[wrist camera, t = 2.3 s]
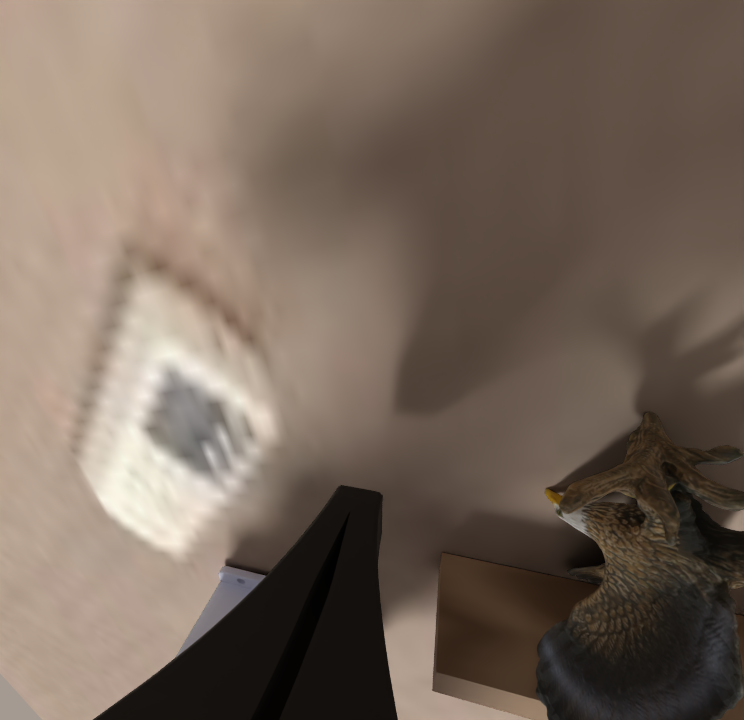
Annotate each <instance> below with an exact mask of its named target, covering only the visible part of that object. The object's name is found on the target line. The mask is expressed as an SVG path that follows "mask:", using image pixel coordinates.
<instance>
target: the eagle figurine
mask: <svg viewBox="0 0 744 720" xmlns="http://www.w3.org/2000/svg"><path fill="white" fill-rule="evenodd" d="M627 451H628V452H627V456H626V457H625V460H624V462H623V464H619V465H617V466H616V467H614V468H612V469H610V470H607V471H605V472H602V473H599V474H596V475H593V476H590V477H587V478H584V479H581V480H579V481H576V482H574V483H572V484H570V485H569V487H568V488H567V490H566V492H565V494H564V495H563V496H561V495H559V494H557V493H554V492H552V491H551V490H550V489H548V488H547V489H545V494H546V496H547V497H548V499H549V500H550V501H551V502H552V504H553V505H554V507H555V511H556V514H557V515H558V517H559V518H561V519H562V520H564V521H566V522H567V523H569V524H570V525H572V526H573V527H574V528H576V529H577V530H579V531H581V532H583V533H584V534H586V535H587V536H589V537H590V538H592V539H593V540H594V541H595V542H597V544H598V545H599V547H600V548H601V550H602V552H603V554H604V557H605V563H603V564H602V565H600V566H592V567H584V568H574V569H569V570H568V571H567V572H568V573H569V574H570V575H576V577H577V578H578V579H587V580H588V581H589V582H590V583H592V584H597V583H601V584H600V586H599V588H598V589H597V590H596V591H595V592H593V593H592V594H590V595H589V596H587V597H586V598H584V599H582V600H581V601H579V602H577V603H576V604H575V605H574V607H573V609H572V610H571V613H570V615H569V617H568V618H567V619H566V620H564V621H561V622H559V623H556V624H555V625H554V626H553V627H551V628H550V629H549V630H548V631H547V632H546V633H545V634H544V635H543V637H542V638H541V640H540V641H539V643H538V645H537V652H538V656H539V662H538V665H537V667H536V677H537V688H536V694H537V696H538V698H539V699H540V701H541V702H542V704H543V705H544V706H546V709H547V717H548V720H718V719H721V718H722V717H723V715H724V714H725V713H726V711H727V710H731V709H733V708H734V707H735V706H736V704H737V702H738V701H739V700H740V699H742V697H743V695H744V676H743V672H742V660H741V654H740V638H739V636H738V634H737V627H738V623H737V618H736V615H735V612H736V603H735V601H734V600H733V599H732V598H731V596H730V589H737V588H740V587H744V531H735V530H730V529H727V528H724V527H721V526H720V525H719V524H717V523H716V522H715V521H713V520H712V519H711V517H710V516H709V515H708V514H707V513H705V512H704V511H703V510H702V505H701V503H700V502H699V501H697V500H696V499H694V498H693V497H692V494H695V495H696V496H698V497H700V498H701V499H703V500H704V501H705V502H707V503H709V504H711V505H713V506H716V507H718V508H721V509H724V510H730V511H740V510H743V509H744V492H742V491H738V490H734V489H730V488H728V487H725V486H723V485H721V484H718V483H716V482H714V481H712V480H710V479H708V478H706V477H704V476H703V475H702V474H701V473H700V471H699V470H698V469H696V467H695V465H697V464H715V465H722V464H726V463H730V462H732V461H735V460H737V459H740V458H741V457H742V456H743V455H744V453H743V451H741V450H740V449H738V448H736V447H732V446H727V445H724V446H719V447H716V448H714V449H711V450H708V451H702V450H699V449H694V448H683V447H679V446H675V445H674V444H673V442H672V441H671V440H670V439H669V438H668V436H667V435H666V434H665V432H664V430H663V428H662V424H661V421H660V419H659V418H658V416H657V415H655V414H654V413H651V412H648V413H646V414H645V415H644V418H643V421H642V423H641V425H640V426H639V427H638V429H637V431H634V432H633V433H632V434H631V435H630V438H629V441H628V442H627ZM614 491H616V492H622V493H623V494H625V495H627V496H630V497H632V498H636V500H637V505H633V504H625V503H611V502H602V503H598V502H595V501H597V500H599V499H601V498H602V497H604V496H605V495H606V494H608V493H611V492H614ZM691 493H692V494H691Z"/></svg>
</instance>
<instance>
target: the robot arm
mask: <svg viewBox="0 0 744 720" xmlns="http://www.w3.org/2000/svg"><path fill="white" fill-rule="evenodd" d="M382 499H383V495H382V494H381V493H380V492H376V491H371V490H365V489H360V488H354V487H349V486H344V485H341V486H339V487H338V488H337V489H336V491H335V492H334V494H333V495H332V497H331V498H330V500H329V501H328V503H327V504H326V505H325V507H324V508H323V509H322V511H321V512H320V513H319V515H318V516H317V517H316V519H315V520H314V521H313V523H312V524H311V525H310V526H309V528H308V529H307V530H306V531H305V532H304V534H303V535H302V536H301V537H300V539H299V540H298V541H297V542H296V543H295V545H294V546H293V547H292V548H291V549H290V550H289V551H288V553H287V554H286V555H285V556H284V557H283V558H282V559H281V560H280V561H279V563H278V564H277V565H276V566H275V567H274V568H273V569H272V570H271V571H270V572H269V574H268V575H267V576H265V575H261V574H257V573H253V572H249V571H245V570H241V569H237V568H233V567H229V566H224V567H222V568H221V570H220V572H219V578H220V580H221V582H220V583H219V585H218V587H217V588H216V590H215V592H214V593H213V595H212V597H211V598H210V600H209V602H208V603H207V605H206V607H205V608H204V610H203V612H202V614H201V615H200V617H199V619H198V620H197V622H196V624H195V625H194V627H193V629H192V630H191V632H190V634H189V635H188V637H187V639H186V640H185V642H184V644H183V646H182V647H181V649H180V651H179V652H178V654H177V656H176V657H175V659H173V660H172V661H171V662H170V663H168V664H167V665H166V666H165V667H164V668H162V669H161V670H160V671H159V672H157V673H156V674H155V675H153V676H152V677H151V678H149V679H148V680H147V681H145V682H144V683H143V684H141V685H140V686H139V687H137V688H136V689H135V690H133V691H132V692H130V693H129V694H128V695H126V696H125V697H124V698H122V699H121V700H119V701H118V702H117V703H115V704H114V705H113V706H111V707H110V708H108V709H107V710H106V711H104V712H103V713H102V714H100V715H99V716H97V717H96V718H95V719H93V720H398V718H397V713H396V707H395V701H394V696H393V690H392V684H391V678H390V672H389V666H388V659H387V652H386V645H385V638H384V630H383V622H382V613H381V603H380V591H379V579H378V556H379V547H380V541H381V534H382Z"/></svg>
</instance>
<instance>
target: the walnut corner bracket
mask: <svg viewBox="0 0 744 720" xmlns="http://www.w3.org/2000/svg"><path fill="white" fill-rule="evenodd" d="M598 588H599V585H594V584H589V583H584V582H580V581H575V580H570V579H565V578H561V577H556V576H551V575H546V574H542V573H537V572H532V571H527V570H523V569H518V568H513V567H508V566H504V565H499V564H494V563H489V562H485V561H480V560H475V559H470V558H465V557H461V556H456V555H451V554H446V553H442V555H441V561H440V568H439V578H438V597H437V615H436V634H435V652H434V671H433V689H432V691H435V692H438V693H442V694H445V695H449V696H452V697H456V698H459V699H462V700H466V701H469V702H473V703H476V704H480V705H483V706H487V707H490V708H494V709H497V710H501V711H504V712H508V713H511V714H515V715H518V716H522V717H525V718H529V719H532V720H548V717H547V709H546V706H544V705H543V704H542V702H541V701H540V699H539V698H538V696H537V694H536V688H537V677H536V667H537V665H538V662H539V656H538V652H537V645H538V643H539V641H540V640H541V638H542V637H543V635H544V634H545V633H546V632H547V631H548V630H549V629H550V628H551V627H553V626H554V625H555V624H556V623H559V622H561V621H564V620H566V619H567V618H568V617H569V615H570V613H571V610H572V609H573V607H574V605H575V604H576V603H577V602H579V601H581V600H582V599H584V598H586V597H587V596H589V595H590V594H592V593H593V592H595V591H596V590H597V589H598ZM735 615H736V618H737V623H738V627H737V634H738V636H739V638H740V654H741V660H742V672H743V676H744V616H742V615H737V614H735ZM718 720H744V695H743V697H742V699H740V700H739V701H738V702H737V704H736V706H735V707H734V708H733V709H731V710H727V711H726V713H725V714H724V715H723V717H722V718H721V719H718Z"/></svg>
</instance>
